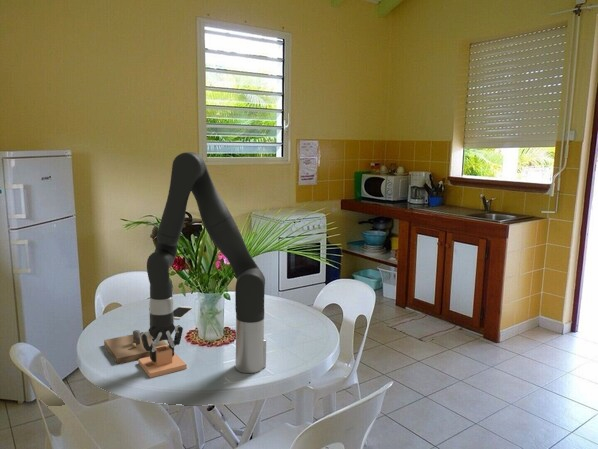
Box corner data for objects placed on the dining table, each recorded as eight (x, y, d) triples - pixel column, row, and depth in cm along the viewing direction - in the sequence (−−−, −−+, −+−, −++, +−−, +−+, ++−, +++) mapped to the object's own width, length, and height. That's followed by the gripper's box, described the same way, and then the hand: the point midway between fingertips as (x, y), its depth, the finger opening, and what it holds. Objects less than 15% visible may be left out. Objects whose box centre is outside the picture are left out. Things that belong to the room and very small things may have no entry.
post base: (153, 335, 182) (153, 319, 181) (170, 352, 168) (170, 334, 167) (104, 345, 172) (103, 328, 171) (117, 364, 157) (117, 345, 156)
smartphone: (194, 308, 215) (194, 306, 214) (179, 320, 200) (179, 318, 199) (179, 307, 216) (179, 305, 216) (164, 319, 201) (164, 316, 201)
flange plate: (173, 355, 165) (173, 339, 164) (186, 368, 156) (186, 351, 155) (138, 363, 158) (138, 346, 157) (150, 377, 149) (149, 359, 148)
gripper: (143, 317, 147) (144, 369, 149) (186, 309, 155) (187, 358, 158) (135, 310, 153) (137, 360, 156) (178, 303, 161) (178, 350, 164)
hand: (162, 359), depth 157 cm, fingers closed on flange plate, 5 cm apart
